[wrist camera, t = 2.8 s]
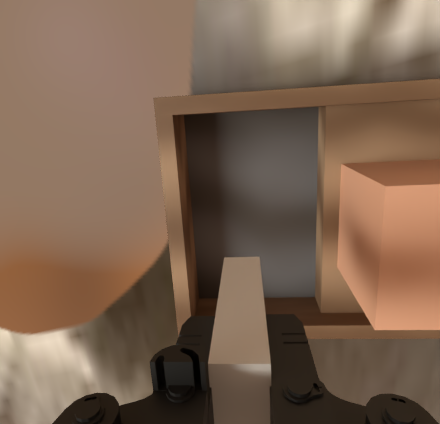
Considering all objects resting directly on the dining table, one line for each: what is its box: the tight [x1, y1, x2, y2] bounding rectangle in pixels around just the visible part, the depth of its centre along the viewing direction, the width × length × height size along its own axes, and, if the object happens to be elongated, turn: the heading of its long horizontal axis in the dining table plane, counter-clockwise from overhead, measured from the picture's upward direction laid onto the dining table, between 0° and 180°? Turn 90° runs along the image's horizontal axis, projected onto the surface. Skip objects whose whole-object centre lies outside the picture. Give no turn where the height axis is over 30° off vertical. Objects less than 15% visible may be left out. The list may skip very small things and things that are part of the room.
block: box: [337, 159, 440, 330], centre depth 18 cm, size 7×7×7 cm
